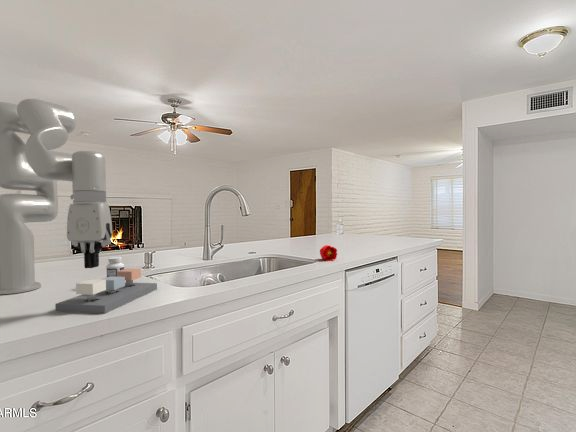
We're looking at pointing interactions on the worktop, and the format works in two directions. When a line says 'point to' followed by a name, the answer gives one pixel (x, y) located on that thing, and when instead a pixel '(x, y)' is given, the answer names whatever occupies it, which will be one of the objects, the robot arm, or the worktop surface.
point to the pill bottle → (114, 266)
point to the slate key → (114, 283)
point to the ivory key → (91, 288)
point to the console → (106, 299)
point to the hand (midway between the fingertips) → (91, 267)
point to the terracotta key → (129, 275)
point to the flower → (328, 253)
